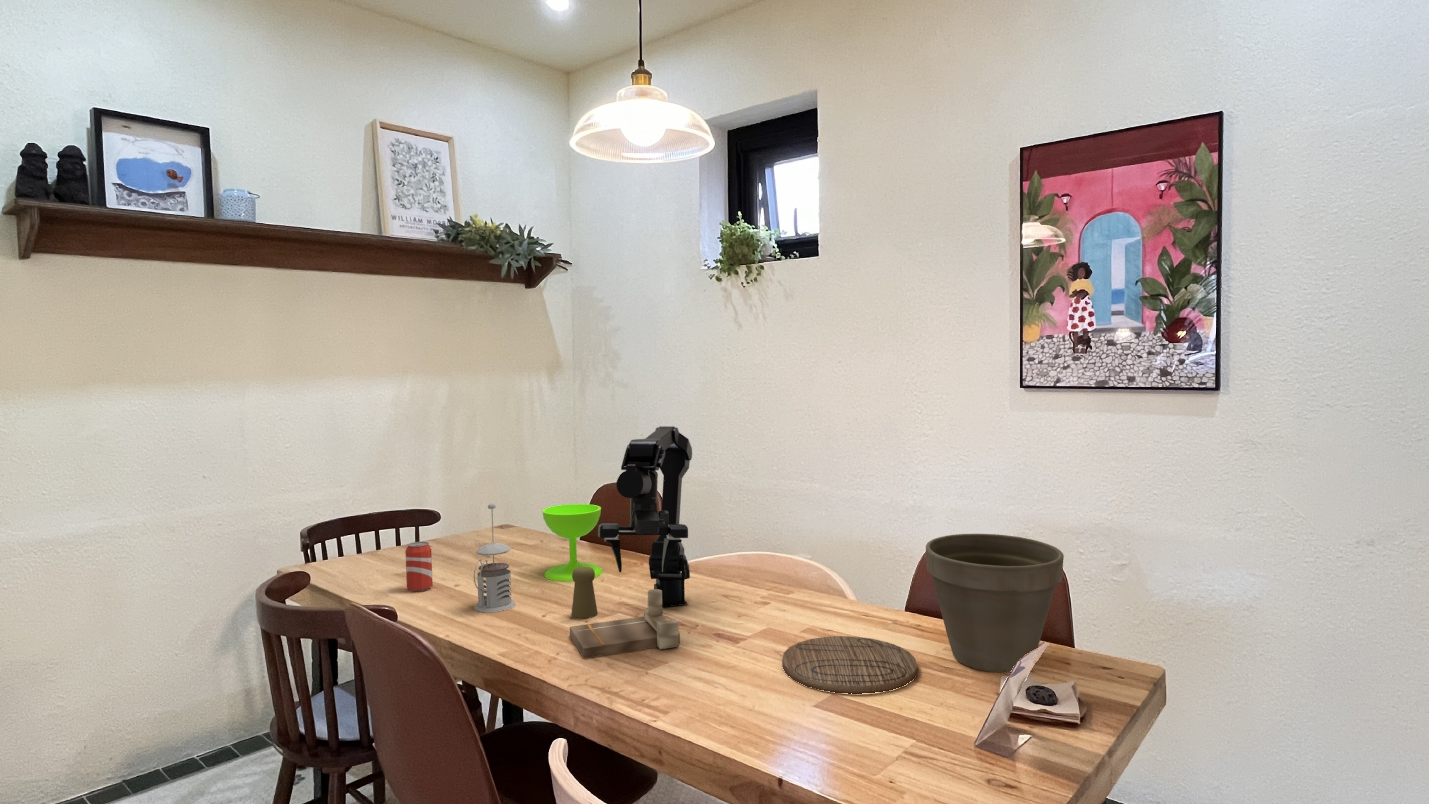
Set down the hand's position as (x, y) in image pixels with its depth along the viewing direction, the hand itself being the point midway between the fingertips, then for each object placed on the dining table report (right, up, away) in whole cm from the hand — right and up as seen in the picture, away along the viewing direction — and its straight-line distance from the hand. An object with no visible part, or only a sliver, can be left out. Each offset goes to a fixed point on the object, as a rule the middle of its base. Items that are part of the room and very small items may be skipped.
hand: (641, 572), depth 167 cm
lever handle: (+4, -13, -2) cm, 14 cm away
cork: (-15, -13, +15) cm, 25 cm away
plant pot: (+69, -13, -16) cm, 72 cm away
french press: (-38, -13, +22) cm, 46 cm away
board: (-4, -14, -2) cm, 14 cm away
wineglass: (-24, -12, +51) cm, 58 cm away
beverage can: (-62, -13, +39) cm, 74 cm away
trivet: (+41, -14, -19) cm, 47 cm away
